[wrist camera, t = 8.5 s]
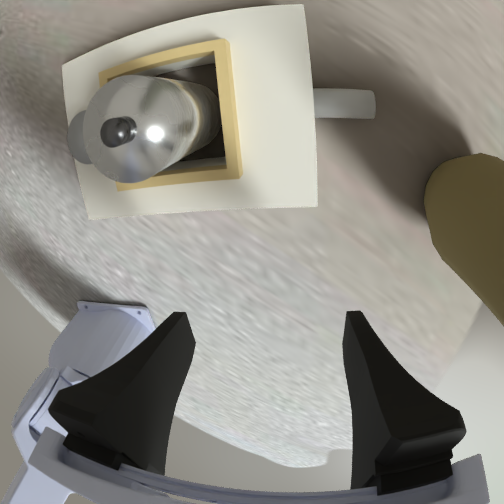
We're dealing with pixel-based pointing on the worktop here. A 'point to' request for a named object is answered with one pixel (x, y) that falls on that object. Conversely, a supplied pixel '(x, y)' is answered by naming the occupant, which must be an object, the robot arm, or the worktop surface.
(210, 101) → the spout can
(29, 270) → the worktop surface
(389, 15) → the worktop surface
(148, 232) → the worktop surface
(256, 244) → the worktop surface
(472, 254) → the squeeze bottle
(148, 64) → the white holder tray
